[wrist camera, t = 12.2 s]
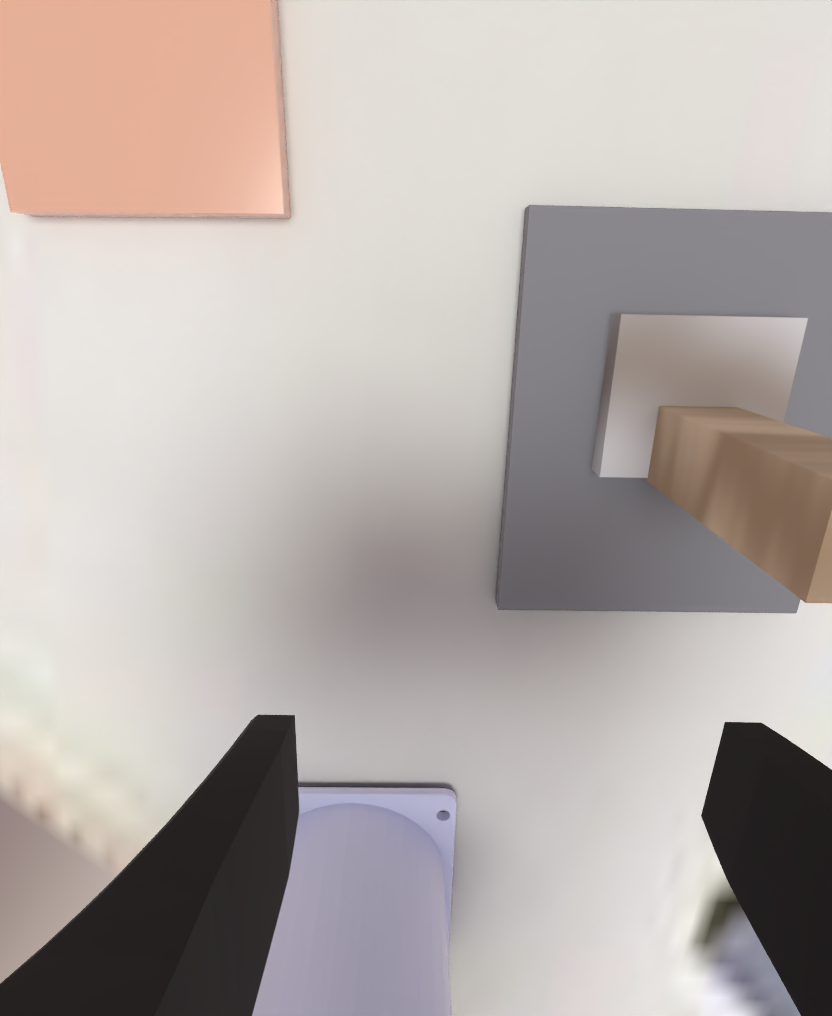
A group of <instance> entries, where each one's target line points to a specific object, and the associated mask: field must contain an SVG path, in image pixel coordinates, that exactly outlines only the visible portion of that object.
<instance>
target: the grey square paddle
mask: <svg viewBox="0 0 832 1016" xmlns="http://www.w3.org/2000/svg"><path fill="white" fill-rule="evenodd" d="M807 321H808V318H796V317H757V316H710V315H663V314H615V313H612V314H611V321H610V329H609V337H608V345H607V353H606V361H605V368H604V376H603V384H602V392H601V400H600V408H599V415H598V423H597V431H596V439H595V447H594V455H593V462H592V470H593V471H594V472H595V473H596V474H597V475H598V476H599V477H623V478H647V482H649V483H650V484H651V485H653V486H654V487H655V488H657V489H658V490H659V491H660V492H662V493H663V494H664V495H666V496H667V497H668V498H670V499H671V500H672V501H673V502H675V503H676V504H677V505H679V506H680V507H681V508H683V509H684V510H685V511H687V512H688V513H689V514H690V515H692V516H693V517H694V518H696V519H697V520H698V521H700V522H701V523H702V524H703V525H705V526H706V527H707V528H709V529H710V530H711V531H713V532H714V533H715V534H717V535H718V536H719V537H720V538H722V539H723V540H724V541H726V542H727V543H728V544H730V545H731V546H732V547H733V548H735V549H736V550H737V551H739V552H740V553H741V554H743V555H744V556H745V557H747V558H748V559H749V560H750V561H752V562H753V563H754V564H756V565H757V566H758V567H760V568H761V569H762V570H763V571H765V572H766V573H767V574H769V575H770V576H771V577H773V578H774V579H775V580H777V581H778V582H779V583H780V584H782V585H783V586H784V587H786V588H787V589H788V590H790V591H791V592H792V593H793V594H795V595H796V596H797V597H799V598H800V599H801V600H803V601H804V602H805V603H832V438H829V437H826V436H823V435H820V434H817V433H814V432H811V431H808V430H805V429H802V428H799V427H796V426H793V425H790V424H786V423H783V422H784V418H785V413H786V409H787V405H788V401H789V397H790V392H791V388H792V384H793V380H794V375H795V371H796V367H797V363H798V359H799V354H800V350H801V346H802V342H803V338H804V333H805V329H806V325H807Z"/></svg>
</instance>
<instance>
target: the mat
mask: <svg viewBox="0 0 832 1016" xmlns="http://www.w3.org/2000/svg"><path fill="white" fill-rule="evenodd" d="M612 313H615V314H663V315H710V316H757V317H796V318H808V321H807V325H806V329H805V333H804V338H803V342H802V346H801V350H800V354H799V359H798V363H797V367H796V371H795V375H794V380H793V384H792V388H791V392H790V397H789V401H788V405H787V409H786V413H785V418H784V422H783V423H786V424H790V425H793V426H796V427H799V428H802V429H805V430H808V431H811V432H814V433H817V434H820V435H823V436H826V437H829V438H832V213H830V212H789V211H748V210H707V209H666V208H625V207H584V206H543V205H529V206H528V207H527V208H526V209H525V221H524V234H523V248H522V261H521V274H520V287H519V301H518V314H517V327H516V340H515V354H514V367H513V380H512V393H511V407H510V420H509V433H508V446H507V460H506V473H505V486H504V499H503V513H502V526H501V539H500V552H499V566H498V579H497V592H496V603H497V606H498V610H575V611H656V612H738V613H797V609H798V606H799V602H800V598H799V597H797V596H796V595H795V594H793V593H792V592H791V591H790V590H788V589H787V588H786V587H784V586H783V585H782V584H780V583H779V582H778V581H777V580H775V579H774V578H773V577H771V576H770V575H769V574H767V573H766V572H765V571H763V570H762V569H761V568H760V567H758V566H757V565H756V564H754V563H753V562H752V561H750V560H749V559H748V558H747V557H745V556H744V555H743V554H741V553H740V552H739V551H737V550H736V549H735V548H733V547H732V546H731V545H730V544H728V543H727V542H726V541H724V540H723V539H722V538H720V537H719V536H718V535H717V534H715V533H714V532H713V531H711V530H710V529H709V528H707V527H706V526H705V525H703V524H702V523H701V522H700V521H698V520H697V519H696V518H694V517H693V516H692V515H690V514H689V513H688V512H687V511H685V510H684V509H683V508H681V507H680V506H679V505H677V504H676V503H675V502H673V501H672V500H671V499H670V498H668V497H667V496H666V495H664V494H663V493H662V492H660V491H659V490H658V489H657V488H655V487H654V486H653V485H651V484H650V483H649V482H647V478H623V477H599V476H598V475H597V474H596V473H595V472H594V471H593V470H592V462H593V455H594V447H595V439H596V431H597V423H598V415H599V408H600V400H601V392H602V384H603V376H604V368H605V361H606V353H607V345H608V337H609V329H610V321H611V314H612Z"/></svg>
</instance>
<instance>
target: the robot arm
mask: <svg viewBox="0 0 832 1016" xmlns="http://www.w3.org/2000/svg"><path fill="white" fill-rule="evenodd" d="M442 810H445V811H446V812H439V811H442ZM456 811H457V801H456V794H455V793H454V792H453V791H452V790H450V789H446V788H352V787H298V773H297V753H296V732H295V715H257V716H256V717H255V718H254V719H252V720H251V722H250V723H249V724H248V726H247V727H246V728H245V729H244V731H243V732H242V733H241V735H240V736H239V737H238V739H237V740H236V741H235V742H234V744H233V745H232V746H231V748H230V749H229V750H228V751H227V753H226V754H225V755H224V756H223V758H222V759H221V760H220V761H219V763H218V764H217V765H216V766H215V768H214V769H213V770H212V771H211V772H210V774H209V775H208V776H207V777H206V779H205V780H204V781H203V782H202V783H201V784H200V786H199V787H198V788H197V789H196V790H195V791H194V793H193V794H192V795H191V796H190V797H189V798H188V800H187V801H186V802H185V803H184V804H183V805H182V807H181V808H180V809H179V810H178V811H177V812H176V813H175V815H174V816H173V817H172V818H171V819H170V820H169V821H168V823H167V824H166V825H165V826H164V827H163V828H162V829H161V830H160V831H159V832H158V833H157V834H156V835H155V837H154V838H153V839H152V840H151V841H150V842H149V843H148V844H147V845H146V846H145V847H144V848H143V849H142V850H141V851H140V852H139V854H138V855H137V856H136V857H135V858H134V859H133V860H132V861H131V862H130V863H129V864H128V865H127V866H126V867H125V868H124V869H123V870H122V872H121V873H120V874H119V875H118V876H117V877H116V878H115V879H114V880H113V881H112V882H111V883H110V884H109V885H108V886H107V887H106V888H105V889H104V890H103V891H102V892H101V893H100V894H99V895H98V896H97V897H96V898H94V899H93V900H92V901H91V902H90V903H89V904H88V905H87V906H86V907H85V908H84V909H83V910H82V911H81V912H80V913H79V914H78V915H77V916H76V917H75V918H74V919H72V920H71V921H70V922H69V923H68V924H67V925H66V926H65V927H64V928H63V929H62V930H61V931H60V932H59V933H57V934H56V935H55V936H54V937H53V938H52V939H51V940H50V941H49V942H48V943H47V944H46V945H44V946H43V947H42V948H41V949H40V950H39V951H37V952H36V953H35V954H34V955H33V956H32V957H31V958H30V959H28V960H27V961H26V962H25V963H24V964H23V965H21V966H20V967H19V968H18V969H17V970H16V971H14V972H13V973H12V974H11V975H10V976H9V977H8V978H6V979H5V980H4V981H3V982H2V983H1V984H0V1016H452V1010H451V993H450V977H449V960H448V950H449V933H450V915H451V898H452V881H453V863H454V846H455V828H456ZM701 816H702V819H703V821H704V824H705V827H706V829H707V832H708V834H709V837H710V839H711V842H712V844H713V847H714V850H715V852H716V854H717V857H718V859H719V861H720V864H721V866H722V869H723V871H724V873H725V876H726V878H727V880H728V882H729V884H730V886H731V888H732V890H733V892H734V894H735V896H736V898H737V899H738V901H739V903H740V905H741V907H742V909H743V910H744V912H745V914H746V916H747V918H748V920H749V922H750V923H751V925H752V927H753V929H754V931H755V933H756V935H757V936H758V938H759V940H760V942H761V944H762V945H763V947H764V949H765V951H766V953H767V955H768V956H769V958H770V960H771V962H772V964H773V965H774V967H775V969H776V971H777V973H778V974H779V976H780V978H781V980H782V982H783V984H784V985H785V987H786V989H787V991H788V993H789V994H790V996H791V998H792V1000H793V1002H794V1004H795V1005H796V1007H797V1009H798V1011H799V1013H800V1014H801V1016H832V770H831V769H830V768H828V767H827V766H825V765H824V764H823V763H821V762H820V761H818V760H817V759H815V758H814V757H812V756H811V755H810V754H808V753H807V752H805V751H804V750H802V749H801V748H799V747H798V746H796V745H795V744H793V743H792V742H790V741H789V740H787V739H786V738H784V737H783V736H781V735H780V734H778V733H777V732H775V731H774V730H772V729H770V728H769V727H767V726H766V725H764V724H762V723H745V722H725V724H724V728H723V732H722V736H721V740H720V744H719V748H718V752H717V756H716V760H715V764H714V768H713V772H712V776H711V780H710V784H709V788H708V791H707V795H706V799H705V803H704V807H703V811H702V815H701Z"/></svg>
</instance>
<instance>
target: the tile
mask: <svg viewBox="0 0 832 1016" xmlns="http://www.w3.org/2000/svg"><path fill="white" fill-rule="evenodd" d="M0 163H1V168H2V173H3V178H4V182H5V187H6V192H7V197H8V202H9V206H10V211H11V212H15V213H19V214H24V215H29V216H87V217H215V218H291V217H290V200H289V184H288V167H287V151H286V135H285V118H284V102H283V85H282V69H281V53H280V36H279V20H278V3H277V0H0Z"/></svg>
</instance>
